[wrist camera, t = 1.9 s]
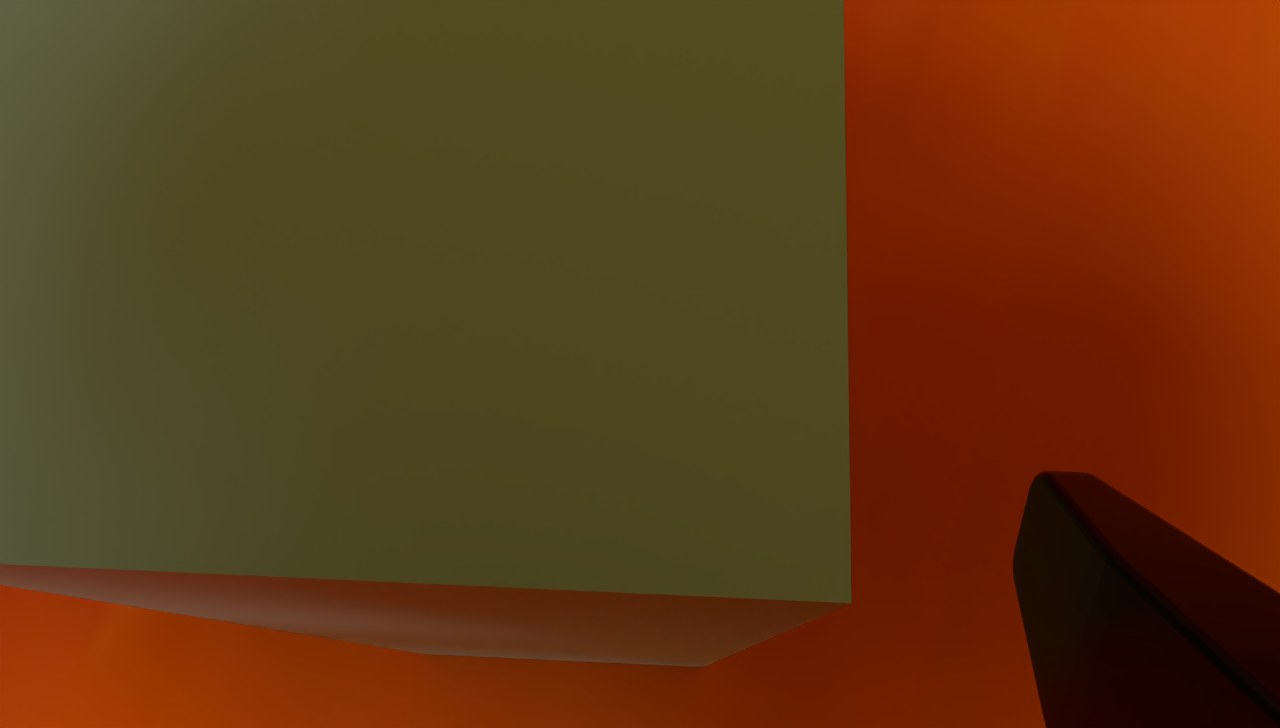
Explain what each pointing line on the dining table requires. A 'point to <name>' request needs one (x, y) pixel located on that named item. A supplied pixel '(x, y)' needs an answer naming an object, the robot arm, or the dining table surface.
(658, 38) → the tall block
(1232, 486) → the dining table surface
